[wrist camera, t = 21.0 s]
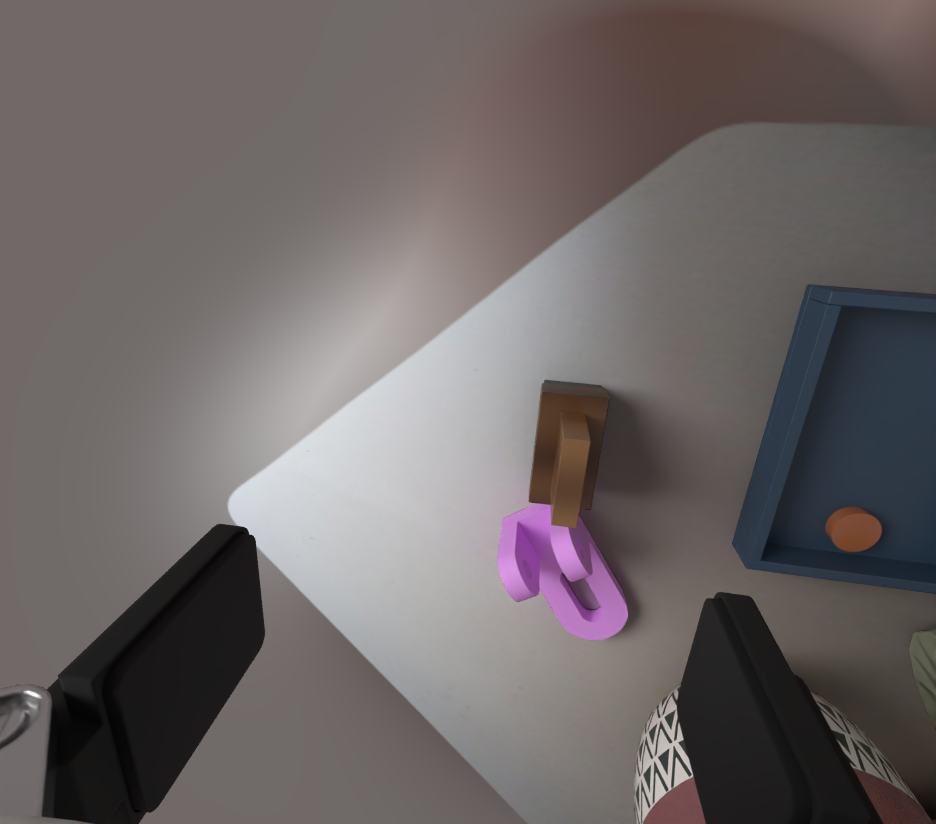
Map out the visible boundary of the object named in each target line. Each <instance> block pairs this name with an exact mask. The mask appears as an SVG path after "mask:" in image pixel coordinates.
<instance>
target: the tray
mask: <svg viewBox="0 0 936 824" xmlns="http://www.w3.org/2000/svg"><path fill="white" fill-rule="evenodd" d="M851 506H855V507H861V508H864V509H866V510H868V511H869V512H870V513H871V514H872V515H873V516H874V517H875V518H877V519H878V521H879V522H880V524H881V527H882V534H881V536H880V538H879V540H878V541H877V542H876V543H875V544H874V545H873V546H872V547H870V548H868V549H866V550H863V551H859V552H847V551H844V550H841V549H839V548H838V547H837V546H836V545H835V544H834V543H833V542H832V541H831V540H830V539H829V538H828V536H827V534H826V532H825V525H826V522H827V520H828V518H829V517H830V516H831V515H832V514H833V513H834V512H836V511H837V510H839V509H842V508H845V507H851ZM732 544H733V546H734V548H735V550H736V551H737V553H738V555H739V557H740V558H741V560H742V562H743V564H744V565H745V567H746V568H747V569H754V570H762V571H769V572H777V573H784V574H792V575H799V576H807V577H814V578H822V579H829V580H837V581H844V582H852V583H859V584H867V585H874V586H882V587H889V588H897V589H904V590H912V591H919V592H927V593H935V594H936V294H923V293H910V292H897V291H884V290H871V289H859V288H846V287H833V286H820V285H807V288H806V292H805V295H804V299H803V302H802V305H801V309H800V312H799V316H798V319H797V323H796V326H795V329H794V333H793V336H792V340H791V343H790V347H789V350H788V353H787V357H786V360H785V364H784V367H783V371H782V374H781V377H780V381H779V384H778V388H777V391H776V395H775V398H774V401H773V405H772V408H771V412H770V415H769V419H768V422H767V425H766V429H765V432H764V436H763V439H762V443H761V446H760V449H759V453H758V456H757V460H756V463H755V467H754V470H753V473H752V477H751V480H750V484H749V487H748V490H747V494H746V497H745V501H744V504H743V508H742V511H741V514H740V518H739V521H738V525H737V528H736V532H735V535H734V538H733V542H732Z"/></svg>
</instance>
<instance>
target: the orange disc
mask: <svg viewBox="0 0 936 824" xmlns="http://www.w3.org/2000/svg"><path fill="white" fill-rule="evenodd" d="M825 532H826V534H827V536H828V538H829V539H830V540H831V541H832V542H833V543H834V544H835V545H836V546H837V547H838V548H839V549H841V550H844V551H847V552H859V551H863V550H866V549H868V548H870V547H872V546H873V545H874V544H875V543H876V542H877V541H878V540H879V538H880V536H881V534H882V527H881V524H880V522H879V521H878V519H877V518H875V517H874V516H873V515H872V514H871V513H870V512H869V511H868V510H866V509H864V508H861V507H855V506H851V507H845V508H842V509H839V510H837V511H836V512H834V513H833V514H832V515H831V516H830V517H829V518H828V520H827V522H826V525H825Z"/></svg>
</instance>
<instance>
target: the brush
mask: <svg viewBox="0 0 936 824" xmlns="http://www.w3.org/2000/svg"><path fill="white" fill-rule="evenodd" d="M608 405H609V397H608V394H607V391H606V390H604V389H602V388H601V386H600V385H591V384H581V383H571V382H561V381H551V380H545V381H544V383H543V384H542V387H541V396H540V404H539V413H538V421H537V429H536V438H535V446H534V454H533V463H532V471H531V479H530V488H529V502H531V503H539V504H547V505H551V525H554V526H562V527H570V528H577V523H578V517H579V511H580V509H587V510H590V509H591V505H592V499H593V493H594V487H595V482H596V476H597V470H598V464H599V458H600V452H601V446H602V441H603V435H604V429H605V423H606V417H607V411H608Z"/></svg>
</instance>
